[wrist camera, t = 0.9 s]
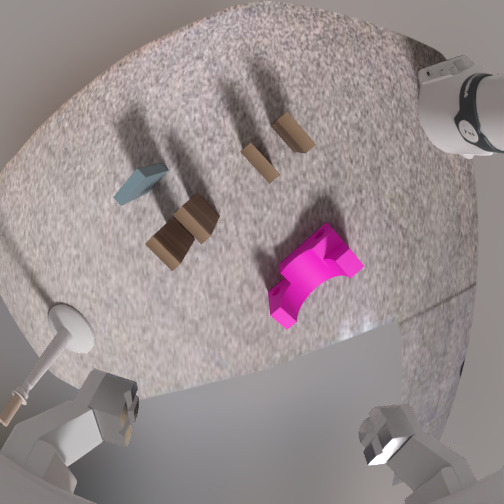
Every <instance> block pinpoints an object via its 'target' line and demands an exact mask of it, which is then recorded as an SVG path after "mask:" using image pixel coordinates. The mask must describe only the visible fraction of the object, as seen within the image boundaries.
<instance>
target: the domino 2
mask: <svg viewBox="0 0 504 504" xmlns="http://www.w3.org/2000/svg"><path fill="white" fill-rule="evenodd" d="M194 240H195V239H194V238H193V237H192V236H191V234H190V233H189V232H188V231H187V230H186V229H185V228H184V227H183V226H182V225H181V224H180V223H179V222H178V221H177V220H176V219H175V218H174V217H173V218H171V219H170V220H169V221H168V222H167V223H166V224H165V225H164V226H163V227H162V228H161V229H160V230H159V231H158V232H157V233H156V234H154V235H153V236H152V237H151V239H150V240H149V241H148V242H147V243H146V245H147V246H148V247H149V248H150V249H151V250H152V251H153V252H154V253H155V254H156V255H157V256H158V257H159V258H160V259H161V260H162V261H163V262H164V263H165V264H166V265H167V266H168V267H169V268H170V269H171V270H172V271H173V270H174V269H175V268H176V267H178V266H179V265H180V264H181V262H182V260H183V259H184V257H185V255H186V254H187V252H188V250H189V249H190V247H191V245H192V244H193V242H194Z"/></svg>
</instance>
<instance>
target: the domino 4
mask: <svg viewBox="0 0 504 504" xmlns="http://www.w3.org/2000/svg"><path fill="white" fill-rule="evenodd" d="M240 152H241V153H242V154H243V155H244V156H245V157H246V158H247V160H248V161H249V162H250V163H251V164H252V165H253V166H254V167H255V168H256V169H257V170H258V172H259V173H260V174H261V175H262V176H263V177H264V178H265V179H266V180H267V181H268V183H269V184H270V183H271V182H272V181H273V180H274V179H276V178H277V177H278V176H279V175H280V174H279V173H278V172H277V171H276V170H275V169H274V167H273V166H272V165H271V164H270V163H269V162H268V161H267V160H266V158H265V157H264V156H263V155H262V154H261V153H260V152H259V151H258V150H257V149H256V148H255V146H254V145H253V144H252V143H249V144H248V145H247V146H246V147H245V148H244V149H243V150H241V151H240Z"/></svg>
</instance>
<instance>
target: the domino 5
mask: <svg viewBox="0 0 504 504" xmlns="http://www.w3.org/2000/svg"><path fill="white" fill-rule="evenodd" d="M272 128H273V129H274V130H275V131H276V132H277V134H278V135H279V136H280V137H281V138H282V139H283V140H284V141H285V142H286V144H287V145H288V146H289V147H290V148H291V149H292V150H293V152H300V153H306V152H308V151H309V150H310V149H311V148H313V147H314V146H315V145H316V144H315V143H314V142H313V141H312V139H311V138H310V137H309V136H308V135H307V134H306V132H305V131H304V130H303V129H302V128H301V127H300V125H299V124H298V123H297V122H296V121H295V120H294V119H293V118H292V117H291V115H290V114H289V113H288V112H286V113H285V114H284V115H283V116H282V117H280V118H279V119H278V120H277V121H276V122H275V123H274V124H273V125H272Z"/></svg>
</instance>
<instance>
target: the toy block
mask: <svg viewBox="0 0 504 504" xmlns="http://www.w3.org/2000/svg"><path fill="white" fill-rule="evenodd" d="M363 267H364V265H363V264H362V263H361V262H360V260H359V259H358V258H357V257H356V255H355V254H354V253H353V252H352V251H351V249H350V248H349V247H348V246H347V245H346V244H345V243H344V241H343V240H342V239H341V238H340V237H339V235H338V234H337V233H336V232H335V231H334V230H333V229H332V227H331V226H330V225H329V224H328V223H327V222H326V223H325V224H324V225H323V226H322V227H321V228H319V229H318V230H317V231H316V232H315V233H314V234H313V235H312V236H310V237H309V238H308V239H307V240H306V241H305V242H304V243H303V244H301V245H300V246H299V247H298V248H297V249H296V250H295V251H293V252H292V253H291V254H290V255H289V256H288V257H287V258H286V259H284V260H283V261H282V262H281V263H280V264H279V269H280V273H281V274H282V275H283V276H284V277H285V278H284V279H283V280H282V281H280V282H279V283H278V284H277V285H276V286H275V287H273V288H272V289H271V290H270V291H269V292H268V297H269V307H270V316H272V317H273V318H274V319H275V320H276V321H277V322H278V323H280V324H281V325H282V326H283V327H284V328H285V329H288V328H290V327H291V326H292V325H294V324H295V323H296V322H297V316H298V312H299V310H300V307H301V306H302V304H303V302H304V301H305V299H306V298H307V297H308V295H309V294H310V293H311V292H312V291H313V290H314V289H315V288H316V287H318V286H319V285H320V284H321V283H323V282H324V281H326V280H328V279H330V278H332V277H335V276H340V275H343V276H347V277H349V278H352V277H353V276H354V275H355V274H356V273H357V272H358V271H360V270H361V269H362V268H363Z"/></svg>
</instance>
